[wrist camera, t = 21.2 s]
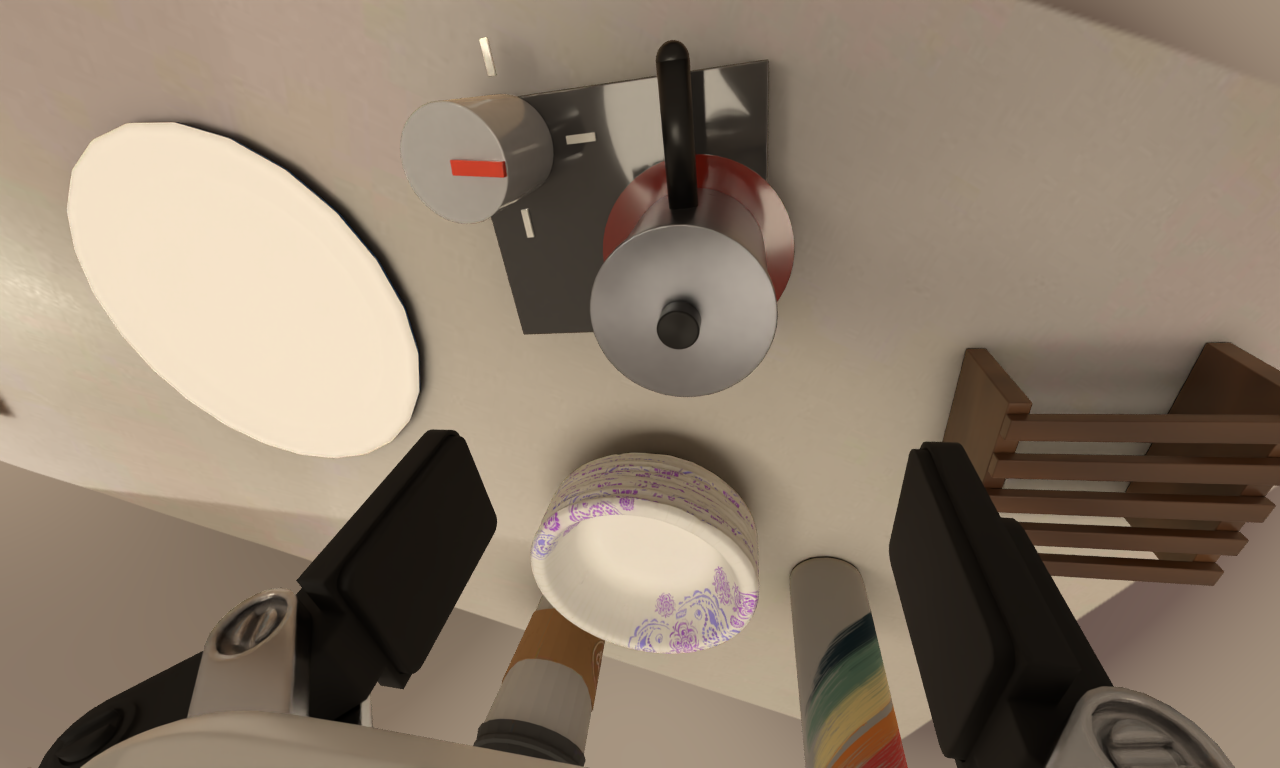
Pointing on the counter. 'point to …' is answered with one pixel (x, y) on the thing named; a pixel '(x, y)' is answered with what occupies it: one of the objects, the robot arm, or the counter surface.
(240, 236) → the plate
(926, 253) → the counter surface
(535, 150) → the hob knob
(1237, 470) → the drying rack
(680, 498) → the paper bowls
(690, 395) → the saucepan
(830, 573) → the lotion bottle
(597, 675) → the coffee cup
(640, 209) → the burner ring
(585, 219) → the hob
